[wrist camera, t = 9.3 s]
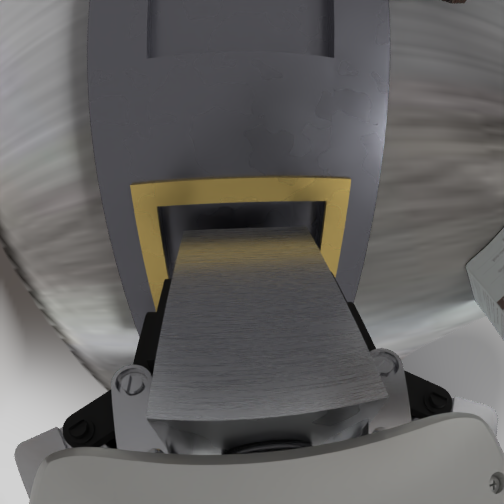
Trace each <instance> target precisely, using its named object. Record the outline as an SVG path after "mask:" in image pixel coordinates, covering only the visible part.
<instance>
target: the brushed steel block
mask: <svg viewBox="0 0 504 504" xmlns="http://www.w3.org/2000/svg"><path fill="white" fill-rule="evenodd" d="M388 397H389V395H388V393H387V391H386V388H385V386H384V384H383V381H382V379H381V377H380V374H379V372H378V370H377V368H376V365H375V363H374V361H373V359H372V356H371V354H370V352H369V350H368V348H367V345H366V343H365V341H364V339H363V337H362V335H361V332H360V330H359V328H358V326H357V324H356V322H355V320H354V318H353V316H352V314H351V311H350V309H349V307H348V305H347V303H346V301H345V299H344V297H343V295H342V293H341V291H340V289H339V287H338V285H337V283H336V281H335V279H334V277H333V275H332V273H331V271H330V270H329V268H328V266H327V264H326V262H325V260H324V258H323V256H322V254H321V252H320V250H319V249H318V247H317V245H316V243H315V241H314V239H313V237H312V235H311V234H310V232H309V230H308V228H307V226H303V227H266V228H236V229H211V230H188V231H184V232H183V236H182V240H181V244H180V248H179V252H178V256H177V260H176V264H175V268H174V272H173V277H172V281H171V285H170V290H169V294H168V299H167V303H166V308H165V313H164V318H163V323H162V328H161V333H160V338H159V343H158V348H157V354H156V360H155V365H154V371H153V377H152V383H151V390H150V396H149V403H148V410H147V418H146V419H147V420H148V422H149V423H150V425H151V426H152V428H153V429H154V431H155V432H156V434H157V435H158V437H159V438H160V439H162V440H165V441H166V442H167V444H168V445H169V447H170V452H171V454H185V455H229V454H249V453H263V452H273V451H282V450H290V449H298V448H304V447H311V446H317V445H322V444H328V443H333V442H338V441H343V440H347V439H352V438H356V437H360V436H361V434H362V429H363V428H364V426H365V425H366V424H367V422H368V421H371V420H373V419H374V417H375V416H376V414H377V413H378V412H379V410H380V409H381V407H382V406H383V405H384V403H385V402H386V400H387V399H388Z"/></svg>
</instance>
